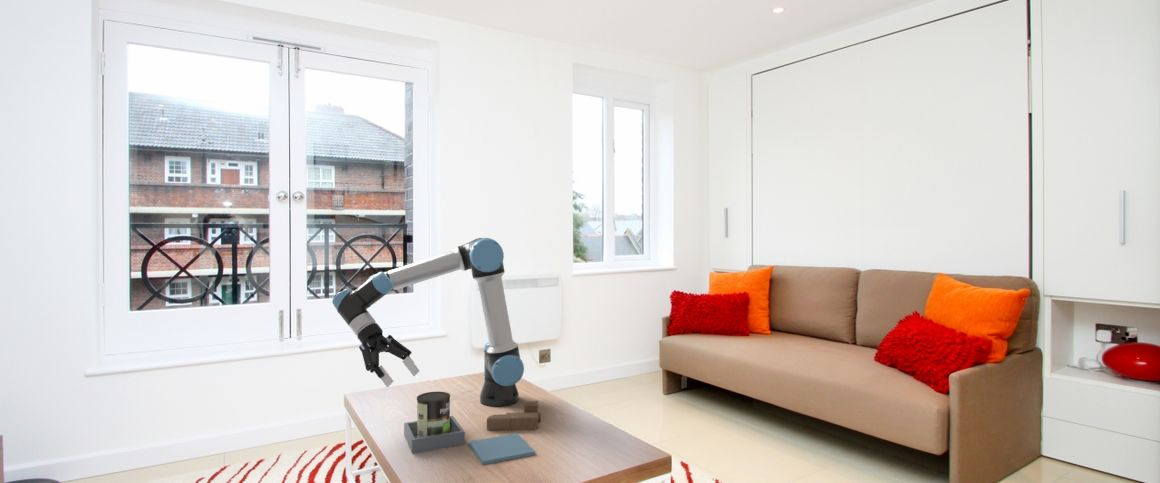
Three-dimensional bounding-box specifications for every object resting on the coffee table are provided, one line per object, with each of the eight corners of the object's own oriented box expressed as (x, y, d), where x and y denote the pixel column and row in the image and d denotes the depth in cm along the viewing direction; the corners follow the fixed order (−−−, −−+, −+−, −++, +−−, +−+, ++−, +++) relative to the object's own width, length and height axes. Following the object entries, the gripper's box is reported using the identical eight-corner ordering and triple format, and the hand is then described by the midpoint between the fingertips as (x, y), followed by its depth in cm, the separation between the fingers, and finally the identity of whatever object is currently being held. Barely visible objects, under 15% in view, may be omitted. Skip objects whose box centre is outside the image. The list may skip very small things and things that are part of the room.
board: (517, 436, 177) (517, 433, 177) (535, 454, 162) (535, 451, 162) (468, 444, 170) (468, 441, 170) (482, 464, 155) (482, 461, 155)
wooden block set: (540, 414, 182) (486, 415, 181) (540, 431, 183) (486, 432, 181) (540, 398, 199) (491, 399, 198) (540, 413, 200) (491, 414, 198)
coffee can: (455, 434, 178) (455, 392, 178) (441, 447, 168) (441, 402, 167) (426, 432, 180) (426, 390, 180) (410, 444, 170) (410, 399, 169)
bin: (453, 427, 185) (453, 415, 184) (464, 444, 170) (464, 431, 170) (404, 435, 178) (404, 422, 177) (411, 453, 163) (411, 440, 163)
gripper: (384, 330, 194) (420, 376, 189) (332, 344, 170) (370, 396, 166) (397, 316, 192) (433, 362, 188) (345, 328, 169) (385, 381, 164)
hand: (404, 378), depth 177 cm, fingers open, 13 cm apart
